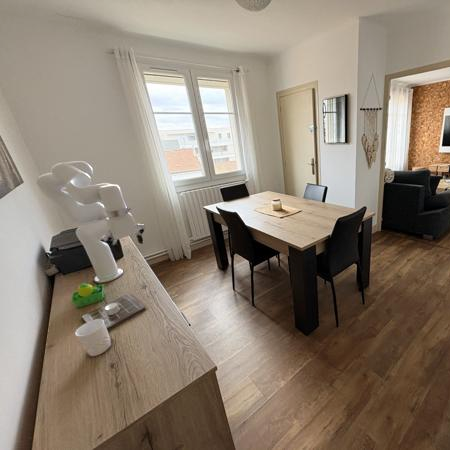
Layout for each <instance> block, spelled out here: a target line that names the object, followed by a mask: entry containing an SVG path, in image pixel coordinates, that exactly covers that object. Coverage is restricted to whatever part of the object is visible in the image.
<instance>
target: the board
mask: <svg viewBox="0 0 450 450" xmlns="http://www.w3.org/2000/svg"><path fill="white" fill-rule="evenodd" d="M112 303H117V304H118V306H119V309H120V310H119V311H118V312H117V313H116V314H113V315H108V314H107V312H106V310H105V307H106V306H108V305H109V304H112ZM145 310H146V307H145V306H144V305H143V304H142V303H140V302H139V301H138V300H137V299H136V298H134V297H133V295H131V294H129V293H127V294H125V295H123V296H120V297H119V298H117V299H115V300H112V301H111V302H108V303H106V304H105V305H102V306H99V307H98V308H96V309H94V310H91V311H90V312H88V313H86V314H84V315H82V316H81V318H82V320H83V322H84V323H87V322H89V321H92V320H96V319H102V320H103V321H104V323H105V326H106V328H107V331H108V332H109V331H110V330H111V329H114V328H115V327H117V326H118V325H120V324H122V323H124V322H126V321H127V320H129V319H131V318H134V316H136V315H138V314H140V313H143V311H145Z"/></svg>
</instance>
